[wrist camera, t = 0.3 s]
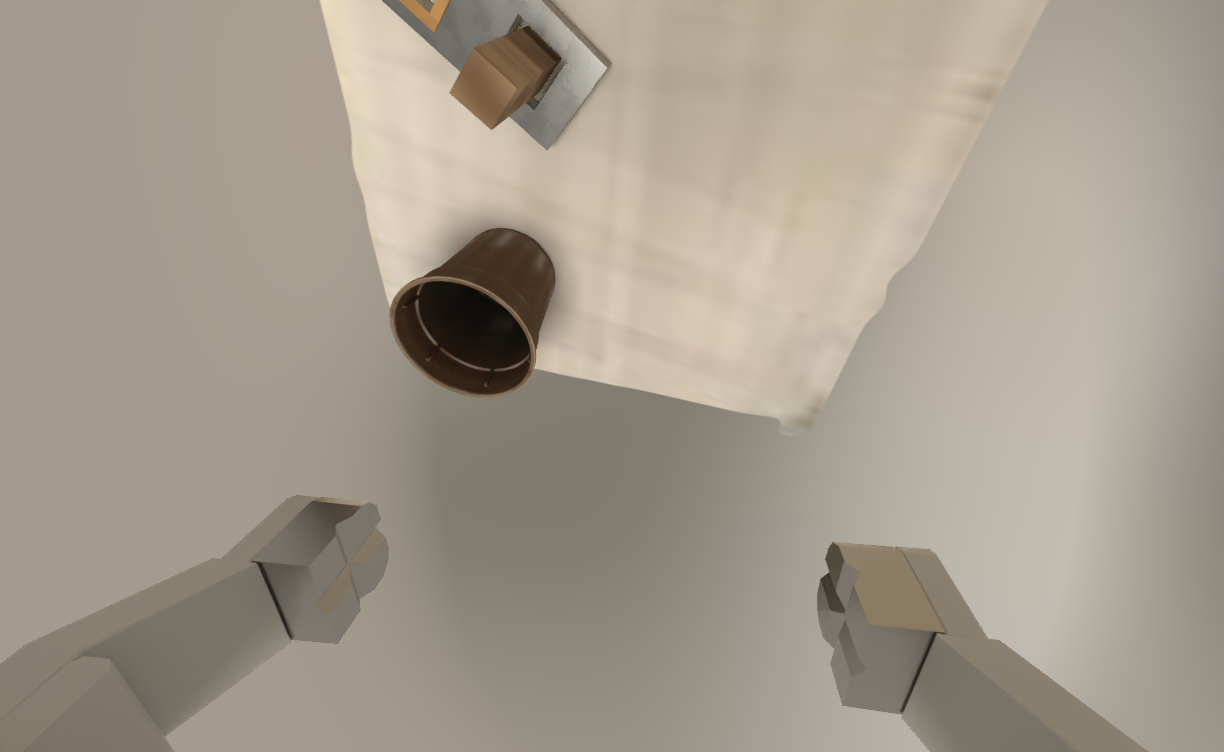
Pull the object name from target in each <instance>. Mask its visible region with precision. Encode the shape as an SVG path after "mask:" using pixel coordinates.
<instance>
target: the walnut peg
mask: <svg viewBox="0 0 1224 752" xmlns="http://www.w3.org/2000/svg"><path fill="white" fill-rule="evenodd" d="M560 60H561V58H560V57H559V56H558V55H557V54H556V53H555V52H554V51H553V50H552V49H551V48H550V47H549V46H548V45H547V44H546V43H545V42H544V41H543V40H542V39H541V38H540V37H539V36H538V35H537V34H536V33H535V32H534V31H533V30H532V29H531V28H530V27H529V26H527V27H524V28H522V29H519V30H517V31H514V32H512V33H509V34H507V35H504V36H502V37H499V38H497V39H494V40H492V41H489V42H487V43H484V44H482V45H479V46H477V47H474V48H473V50H472V52H471V54H470V55H469V57H468V59H467V61H466V63H465V65H464V67H463V69H462V70H461V72H460V74H459V76H458V78H457V80H456V82H455V83H454V85H453V87H452V89H451V91H450V94H451V95H452V96H454V97H455V98H456V99H457V100H458V101H459V102H460V103H461V104H463V105H464V106H465V107H466V108H467V109H468V110H469V111H471V112H472V113H473V114H474V115H475V116H476V117H477V118H478V119H480V120H481V121H482V122H483V123H484V124H485V125H486V126H488V127H489V128H490V129H491V130H492V129H494V128H495V127H496V126H497V125H499V124H500V123H501V122H502V121H504V120H505V119H506V118H507V117H509V116H510V115H511V114H513V113H514V112H515V111H516V110H518V109H519V108H520V107H521V106H523V105H524V104H525V103H526V102H528V101H529V100H530V99H532V98H533V97H534V96H535V95H537V94H538V93H539V92H540V90H541V89H542V87H543V86H544V84H545V83H546V81H547V80H548V78H549V77H550V75H551V74H552V72H553V70H554V69H555V67H556V66H557V64H558V63H559V61H560Z"/></svg>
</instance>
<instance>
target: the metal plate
mask: <svg viewBox="0 0 1224 752" xmlns="http://www.w3.org/2000/svg"><path fill="white" fill-rule="evenodd" d="M382 1H383V2H384V3H385V4H386V5H387V6H389V7H390V8H391V9H392V10H393V11H394V12H395V13H396V14H397V15H398V16H400V17H401V18H402V19H403V20H404V21H405V22H406V23H407V24H408V25H409V26H411V27H412V28H413V29H414V30H415V31H416V32H417V33H418V34H419V35H420V36H422V37H423V38H424V39H425V40H426V41H427V42H428V43H429V44H430V45H432V46H433V47H434V48H435V49H436V50H437V51H438V52H439V53H440V54H441V55H443V56H444V57H445V58H446V59H447V60H448V61H449V62H450V63H451V64H452V65H454V66H455V67H456V68H457V69H458V70H459V71H460V72H461V70H462V69H463V67H464V65H465V63H466V61H467V59H468V57H469V55H470V54H471V52H472V50H473V48H474V47H477V46H479V45H482V44H484V43H487V42H489V41H492V40H494V39H497V38H499V37H502V36H504V35H507V34H509V33H512V32H514V31H515V30H516V28H517V26H518V24H519V23H520V21H521V19H522V18H523V19H524V20H525V21H526V22H527V23H528V24H529V25H530V26H531V27H532V28H533V29H534V30H535V31H536V32H537V33H538V34H539V35H540V36H541V37H542V38H543V39H544V40H545V41H546V42H547V43H548V44H549V45H550V46H551V47H552V48H553V49H554V50H555V51H556V52H557V53H558V54H559V55H560V56H561V57H562V58H563V59H564V60H565V61H566V64H565V65H564V67H563V68H562V70H561V71H560V73H559V74H558V76H557V77H556V79H555V80H554V82H553V83H552V85H551V86H550V88H549V89H548V91H547V92H546V94H545V95H544V97H543V98H542V100H541V101H540V103H538V102H537V101H536V100H535V99H534V98H532V99H530V100H529V101H528V102H526V103H525V104H524V105H523V106H521V107H520V108H519V109H518V110H516V111H515V112H514V113H513V114H511V115H510V117H511V118H512V119H513V120H514V121H515V122H516V123H517V124H519V125H520V126H521V127H522V128H523V129H524V130H525V131H526V132H527V133H528V134H530V135H531V136H532V137H533V138H534V139H535V140H536V141H537V142H538V143H539V144H541V145H542V146H543V147H544V148H545V149H546V150H548V149H549V148H550V147H551V145H552V144H553V143H554V142H555V140H556V139H557V138H558V136H559V135H560V133H561V132H562V131H563V129H564V128H565V127H566V125H567V124H568V122H569V121H570V120H571V118H572V117H573V116H574V114H575V113H576V112H577V110H578V109H579V107H580V106H581V105H582V103H583V102H584V101H585V99H586V98H587V96H588V95H589V94H590V92H591V91H592V90H593V88H594V87H595V86H596V84H597V83H598V81H599V80H600V79H601V77H602V76H603V75H604V73H605V72H606V70H607V69H608V68H609V66H610V65H611V63H610V62H609V61H608V60H607V58H606V57H605V56H604V55H603V54H602V53H601V52H600V51H599V50H598V49H597V48H596V47H595V46H594V45H593V44H592V43H591V42H590V41H589V40H588V39H587V38H586V37H585V36H584V35H583V34H582V33H581V32H580V31H579V30H578V28H577V27H576V26H575V25H574V24H573V23H572V22H571V21H570V20H569V19H568V18H567V17H566V16H565V15H564V14H563V13H562V12H561V11H560V10H559V9H558V8H557V7H556V6H555V5H554V4H553V3H552V2H551V1H550V0H435V3H434V4H433V3H432V2H431V1H430V0H382Z"/></svg>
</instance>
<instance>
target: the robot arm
mask: <svg viewBox="0 0 1224 752" xmlns="http://www.w3.org/2000/svg"><path fill="white" fill-rule="evenodd" d="M380 520H381V518H380V515H379V512H378V509H377V506H376V505H374V504H372V503H369V502H361V501H351V500H342V499H334V498H325V497H320V498H318V497H311V496H302V495H296V496H293V497H290V498H287V499H286V500H285V501H284V502H283V503H281V505H279V506H278V507H277V508H276V509H275V510H274V511H273V512H272V513H271V514H269V515H268V516H267V517H266V518H265V519H264V520H263V521H262V522H261V523H260V524H258V525H257V526H256V527H255V528H254V529H253V530H252V531H251V532H250V533H249V534H247V535H246V536H245V537H244V538H243V539H242V540H241V541H240V542H239V543H238V544H236V545H235V546H234V547H233V548H232V549H231V550H230V551H229V552H228V553H227V554H225V556H223V557H222V558H221V559H215V558H212V559H210V560H208V561H205V562H203V563H201V564H199V565H197V566H195V567H192V568H190V569H188V570H186V571H184V572H182V573H180V574H177V575H175V576H173V577H171V578H169V579H167V580H164V581H162V582H160V583H158V584H156V585H153V586H151V587H149V588H147V589H145V590H143V591H140V592H138V593H136V594H134V595H132V596H130V597H128V598H125V599H123V600H121V601H119V602H117V603H114V604H113V605H110V606H108V607H106V608H104V609H101V610H99V611H97V612H95V613H93V614H91V615H88V616H87V617H84V618H82V619H80V620H78V621H75V622H73V623H71V624H69V625H67V626H65V627H62V628H60V629H58V630H56V631H54V632H52V633H50V634H47V635H45V636H43V637H41V638H39V639H37V640H35V641H32V642H30V643H28V644H26V645H24V646H23V647H22V648H20V649H19V650H18V651H16V652H15V653H14V654H13V655H11V656H10V657H9V658H7V659H6V660H5V661H4V662H2V663H1V664H0V752H174V750H173V749H172V747H171V746H170V744H169V743H168V742H167V740H166V739H165V736H166V735H167V734H169V733H170V732H172V731H173V730H174V729H176V728H177V727H178V726H180V725H181V724H182V723H184V722H185V721H186V720H188V719H189V718H190V717H192V716H193V715H194V714H196V713H197V712H198V711H200V710H201V709H203V708H204V707H205V706H206V705H208V704H209V703H210V702H212V701H213V700H214V699H216V698H217V697H219V696H220V695H221V694H223V693H224V692H225V691H226V690H228V689H229V688H231V687H232V686H233V685H235V684H236V683H237V682H239V681H240V680H241V679H243V678H244V677H245V676H247V675H248V674H250V673H251V672H252V671H253V670H255V669H256V668H258V667H259V666H260V665H262V664H263V663H264V662H266V661H267V660H268V659H270V658H271V657H272V656H274V655H275V654H276V653H278V652H279V651H280V650H282V649H283V648H284V647H285V646H287V645H288V644H290V643H291V640H301V641H312V642H324V643H335V644H338V642H339V641H340V639H341V638H342V636H343V635H344V634H345V632H346V631H347V629H348V628H349V626H350V625H351V623H352V622H353V620H354V619H355V617H356V616H357V614H358V613H359V612H360V600H359V599H360V598H362V597H363V596H365V595H366V594H368V593H370V592H371V591H373V590H374V589H375V588H376V586H377V585H378V583H379V582H380V580H381V579H382V577H383V575H384V572H385V569H386V565H387V562H388V544H387V540H386V537H385V536H384V535H383V534H382V533H381V532H380V531H379V530H378V529H377V528H376V527H377V525H378V523H379V522H380ZM825 560H826V563H827V566H828V569H829V573H828V574H826V575H825V576H824V577H822V578H821V579H820V584H819V588H818V594H817V606H818V607H817V610H818V617H819V624H820V627H821V631H822V635H823V638H824V639H825V640H826V641H827V642H828V643H829V644H830V645H831V646H832V647H833V648H834V653H833V656H832V660H831V667H832V671H833V674H834V677H835V681H836V684H837V688H838V691H839V695H840V698H841V702H842V705H843V706H849V707H856V708H862V709H869V710H876V711H882V712H889V713H896V714H902V719H903V720H904V721H905V722H906V723H907V725H908V726H909V727H910V728H911V729H912V731H913V732H914V733H915V734H916V735H917V737H918V738H919V739H920V740H921V741H922V743H923V744H924V745H925V746H926V747H927V749H928V750H929V751H930V752H1148V751H1147V750H1145V749H1144V748H1143V747H1141V746H1140V745H1138V744H1137V743H1136V742H1135V741H1133V740H1132V739H1130V738H1129V737H1128V736H1127V735H1125V734H1124V733H1123V732H1121V731H1120V730H1119V729H1117V728H1116V727H1115V726H1113V725H1112V724H1111V723H1109V722H1108V721H1107V720H1105V719H1104V718H1103V717H1101V716H1100V715H1099V714H1097V713H1096V712H1095V711H1093V710H1092V709H1091V708H1089V707H1088V706H1086V705H1085V704H1084V703H1082V702H1081V701H1080V700H1079V699H1077V698H1076V697H1075V696H1073V695H1072V694H1071V693H1069V692H1068V691H1066V690H1065V689H1064V688H1063V687H1061V686H1060V685H1059V684H1057V683H1056V682H1054V681H1053V680H1052V679H1050V678H1049V677H1048V676H1047V675H1045V674H1044V673H1042V672H1041V671H1040V670H1039V669H1037V668H1036V667H1035V666H1033V665H1032V664H1030V663H1029V662H1028V661H1026V660H1025V659H1024V658H1022V657H1021V656H1020V655H1018V654H1017V653H1016V652H1014V651H1013V650H1012V649H1010V648H1009V647H1008V646H1006V645H1005V644H1004V643H1002V642H1001V641H1000V640H994V639H988V638H987V636H986V635H985V633H984V631H983V629H982V628H981V626H980V625H979V623H978V622H977V620H976V618H975V617H974V615H973V613H972V612H971V610H970V608H969V607H968V605H967V604H966V602H965V600H964V599H963V597H962V595H961V594H960V592H959V591H958V589H957V587H956V586H955V584H954V583H953V581H952V579H951V578H950V576H949V574H948V573H947V571H946V570H945V568H944V566H943V565H942V563H941V561H940V560H939V558H938V557H937V555H936V554H935V553H934V552H932V551H931V550H930V549H920V548H906V547H895V548H894V547H887V546H875V545H863V544H850V543H837V542H832V544H831V545H830V546H829V548H828V552H827V555H826V559H825Z"/></svg>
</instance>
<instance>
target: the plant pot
mask: <svg viewBox="0 0 1224 752" xmlns="http://www.w3.org/2000/svg"><path fill="white" fill-rule="evenodd" d="M554 285H555V274H554V269H553V266H552V263H551V261H550V259H549V257H548V256H547V255H545V254H544V252H543V251H542V250H541V249H540V247H539V246H538V244H537V243H536V242H535V241H533V240H532V239H531V238H529V237H527V236H526V235H524V234H521V233H519V232H516V231H513V230H508V229H492V230H488V231H485V232H483V233H481V234H480V235H478V236H477V237H475V238H474V239H473V240H472V241H471V242H470V243H469V244H467V245H466V246H465V247H464V248H463V249H461V250H460V251H459V252H458V253H457V254H455V255H454V256H453V257H452V258H451V259H449V260H448V261H447V262H446V263H444V264H443V265H442V266H441V267H439V268H436V269H434V270H432V271H430V272H429V273H428V274H426V275H425V276H424V277H421V278H418V279H416V280H413V281H411V282H410V283H408V284H407V285H405V286H404V287H403V288H402V289H401V290H400V291H399V292H398V293H397V294H396V296H395V297H394V299H393V301H392V304H391V308H390V325H391V330H392V333H393V336H394V338H395V341H396V343H397V345H398V346H399V348H400V349H401V351H402V352H403V354H404V355H405V357H406V358H407V359H408V360H409V361H410V363H411V364H412V365H413V366H414V367H415V368H416V369H417V370H418V371H420V372H421V373H422V374H423V375H424V376H426V377H427V378H429V379H430V380H432V381H433V382H435V383H437V384H439V385H440V386H442V387H444V388H446V389H448V390H451V391H453V392H457V393H459V394H462V395H466V396H471V397H477V398H497V397H502V396H506V395H508V394H511V393H513V392H515V391H517V390H518V389H520V388H521V387H522V386H524V385H525V384H526V383H527V381H528V380H529V378H530V377H531V375H532V373H533V370H534V367H535V363H536V349H537V345H538V339H539V331H540V328H541V325H542V321H543V319H544V316H545V313H546V310H547V307H548V304H549V301H550V298H551V296H552V293H553V290H554Z"/></svg>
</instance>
